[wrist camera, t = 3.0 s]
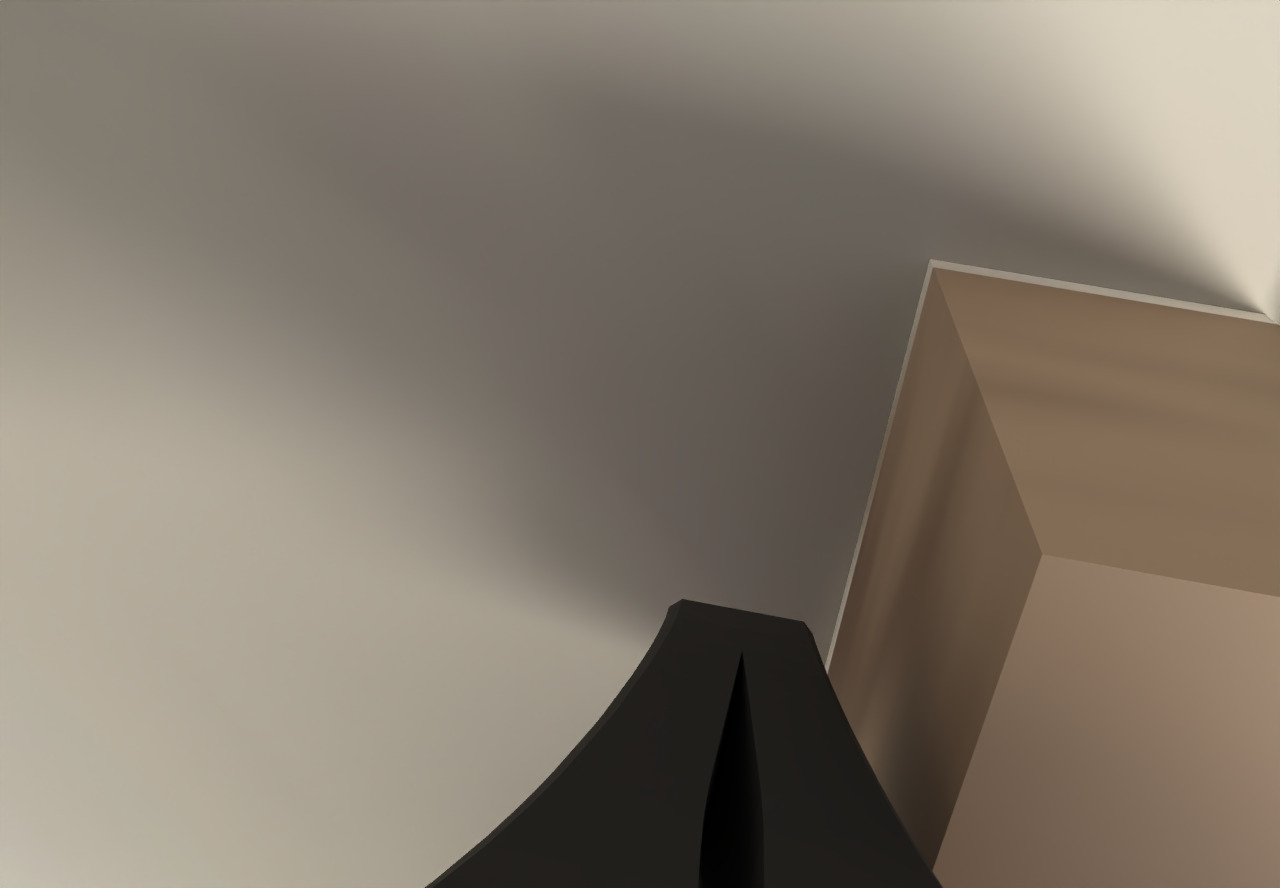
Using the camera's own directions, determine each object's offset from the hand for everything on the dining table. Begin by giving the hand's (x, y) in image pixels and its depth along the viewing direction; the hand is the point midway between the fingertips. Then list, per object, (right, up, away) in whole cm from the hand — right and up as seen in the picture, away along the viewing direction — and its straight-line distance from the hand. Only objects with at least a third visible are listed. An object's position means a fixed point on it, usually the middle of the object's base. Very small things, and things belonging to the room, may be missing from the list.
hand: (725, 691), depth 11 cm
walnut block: (+4, +1, +4) cm, 6 cm away
